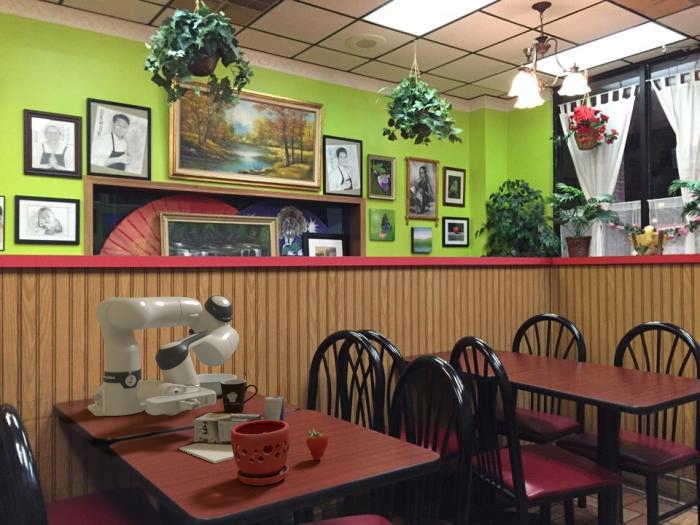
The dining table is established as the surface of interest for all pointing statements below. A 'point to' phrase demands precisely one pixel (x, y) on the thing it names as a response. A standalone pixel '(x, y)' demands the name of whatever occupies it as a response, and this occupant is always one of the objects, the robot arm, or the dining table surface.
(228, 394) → the coffee mug
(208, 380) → the serving bowl
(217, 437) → the coffee box
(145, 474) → the dining table surface
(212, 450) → the mat
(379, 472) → the dining table surface
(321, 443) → the fruit
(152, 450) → the dining table surface
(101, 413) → the robot arm
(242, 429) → the plant pot
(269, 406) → the energy drink
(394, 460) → the dining table surface
